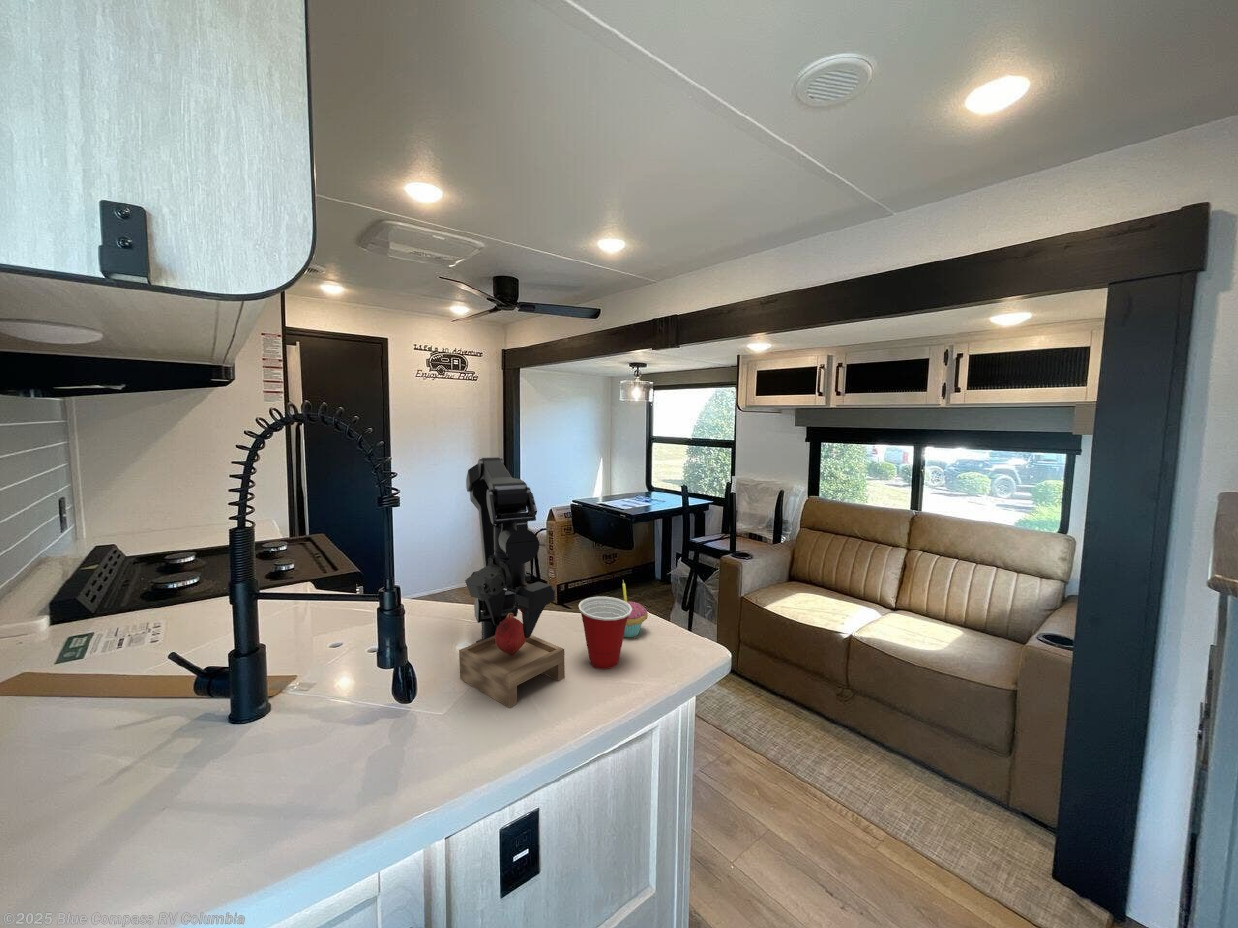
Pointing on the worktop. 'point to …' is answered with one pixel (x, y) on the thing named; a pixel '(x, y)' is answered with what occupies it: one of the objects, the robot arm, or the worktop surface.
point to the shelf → (509, 666)
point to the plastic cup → (604, 629)
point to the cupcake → (634, 617)
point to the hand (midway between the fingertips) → (511, 630)
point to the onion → (510, 635)
